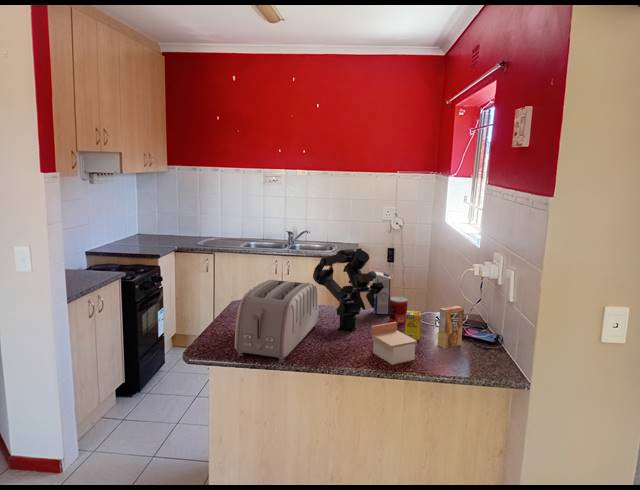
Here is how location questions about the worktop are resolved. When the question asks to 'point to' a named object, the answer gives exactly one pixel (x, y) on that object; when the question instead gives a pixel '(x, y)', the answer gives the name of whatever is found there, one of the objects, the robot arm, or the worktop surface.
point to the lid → (389, 336)
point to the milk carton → (382, 295)
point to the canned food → (398, 310)
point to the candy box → (450, 326)
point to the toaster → (275, 318)
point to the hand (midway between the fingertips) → (369, 308)
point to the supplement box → (413, 324)
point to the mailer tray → (395, 353)
